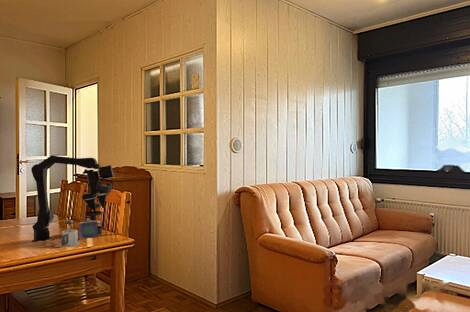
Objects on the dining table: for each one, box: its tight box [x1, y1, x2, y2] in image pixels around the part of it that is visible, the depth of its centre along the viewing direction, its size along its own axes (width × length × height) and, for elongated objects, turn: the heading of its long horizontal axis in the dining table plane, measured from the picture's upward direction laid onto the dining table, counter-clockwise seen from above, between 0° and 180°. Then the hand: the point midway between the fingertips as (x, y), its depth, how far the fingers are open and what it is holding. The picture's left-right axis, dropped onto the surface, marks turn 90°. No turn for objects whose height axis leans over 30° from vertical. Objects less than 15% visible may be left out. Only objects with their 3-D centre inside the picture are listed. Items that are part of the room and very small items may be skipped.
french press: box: [83, 201, 107, 235], centre depth 200 cm, size 12×9×23 cm
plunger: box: [64, 219, 74, 232], centre depth 174 cm, size 4×4×6 cm
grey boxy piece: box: [60, 229, 79, 246], centre depth 173 cm, size 7×9×6 cm
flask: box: [78, 217, 99, 240], centre depth 188 cm, size 9×3×11 cm, turn 121°
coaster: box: [53, 241, 84, 248], centre depth 174 cm, size 10×10×1 cm
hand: (99, 209), depth 191 cm, fingers open, 9 cm apart
